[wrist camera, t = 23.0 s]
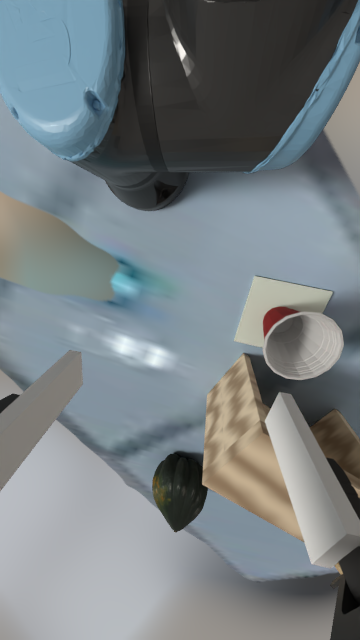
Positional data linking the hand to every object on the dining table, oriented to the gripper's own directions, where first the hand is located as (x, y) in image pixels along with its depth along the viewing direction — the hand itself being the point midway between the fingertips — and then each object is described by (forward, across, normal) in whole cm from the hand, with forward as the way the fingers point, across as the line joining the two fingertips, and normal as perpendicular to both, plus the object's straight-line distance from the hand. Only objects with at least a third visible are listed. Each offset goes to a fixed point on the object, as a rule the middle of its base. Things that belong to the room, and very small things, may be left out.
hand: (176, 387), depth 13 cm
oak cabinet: (+27, -24, +24) cm, 43 cm away
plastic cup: (+28, -18, +4) cm, 33 cm away
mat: (+28, -18, +4) cm, 34 cm away
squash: (+27, -8, +54) cm, 61 cm away
